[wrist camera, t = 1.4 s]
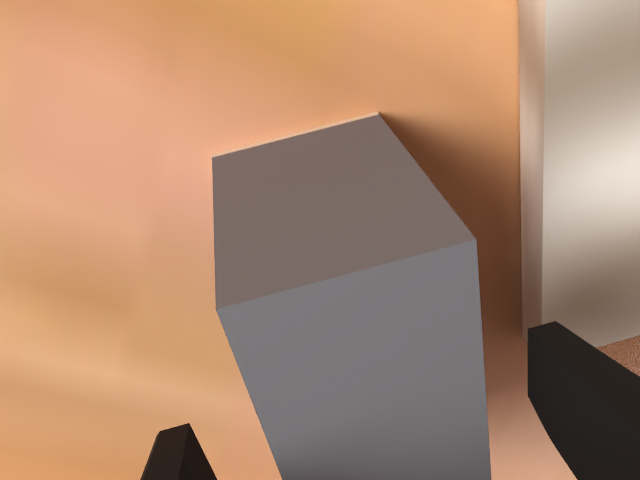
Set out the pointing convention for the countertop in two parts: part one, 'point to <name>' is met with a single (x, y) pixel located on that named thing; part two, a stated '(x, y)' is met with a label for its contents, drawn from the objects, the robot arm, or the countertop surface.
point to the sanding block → (351, 306)
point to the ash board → (580, 166)
